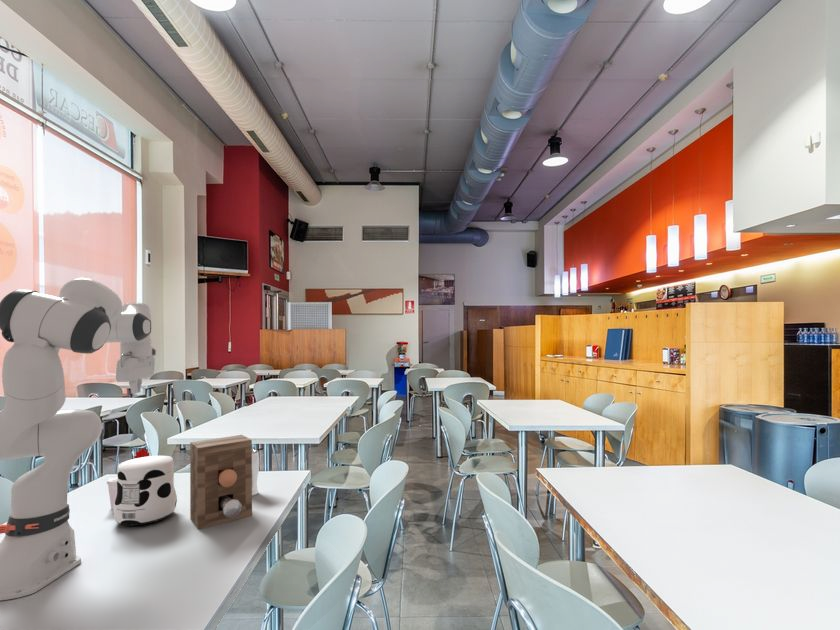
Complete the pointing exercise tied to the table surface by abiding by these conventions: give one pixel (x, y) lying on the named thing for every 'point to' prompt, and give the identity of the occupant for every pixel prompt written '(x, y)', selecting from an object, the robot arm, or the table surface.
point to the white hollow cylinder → (255, 471)
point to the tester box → (205, 481)
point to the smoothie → (112, 490)
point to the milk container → (145, 490)
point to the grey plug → (230, 506)
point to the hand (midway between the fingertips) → (135, 393)
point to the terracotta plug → (227, 477)
